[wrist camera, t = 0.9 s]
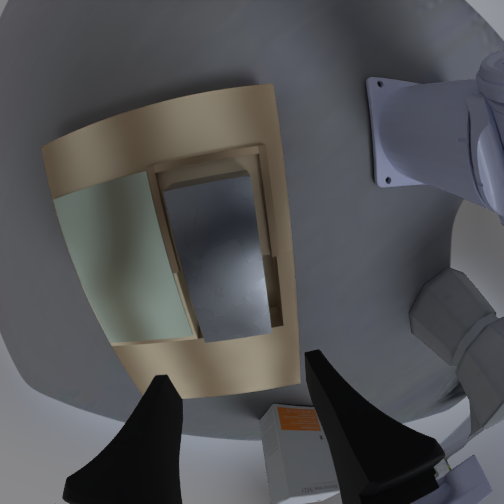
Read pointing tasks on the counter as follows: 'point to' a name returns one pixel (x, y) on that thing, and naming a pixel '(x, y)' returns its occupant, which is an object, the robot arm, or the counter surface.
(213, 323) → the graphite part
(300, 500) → the skincare box
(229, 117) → the bamboo board
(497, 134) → the robot arm
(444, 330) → the coffee maker
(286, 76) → the counter surface
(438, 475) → the syrup box
